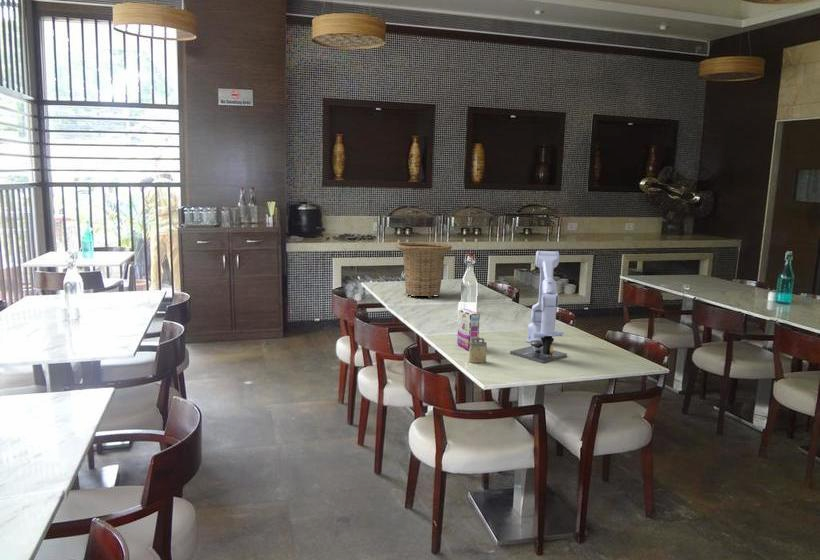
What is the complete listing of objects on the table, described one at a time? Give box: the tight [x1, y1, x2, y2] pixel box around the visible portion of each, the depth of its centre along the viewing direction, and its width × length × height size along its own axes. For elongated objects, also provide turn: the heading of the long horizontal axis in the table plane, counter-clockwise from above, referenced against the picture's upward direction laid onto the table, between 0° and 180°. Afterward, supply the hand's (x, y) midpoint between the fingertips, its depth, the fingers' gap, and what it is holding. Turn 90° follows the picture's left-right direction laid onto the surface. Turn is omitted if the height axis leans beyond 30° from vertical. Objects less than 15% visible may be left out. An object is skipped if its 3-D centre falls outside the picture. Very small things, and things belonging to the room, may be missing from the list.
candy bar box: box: [456, 308, 481, 352], centre depth 272 cm, size 11×5×16 cm, turn 23°
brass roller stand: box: [530, 340, 554, 355], centre depth 263 cm, size 12×6×4 cm, turn 33°
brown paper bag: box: [468, 337, 488, 364], centre depth 251 cm, size 7×4×10 cm, turn 98°
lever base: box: [509, 345, 568, 364], centre depth 264 cm, size 17×17×4 cm
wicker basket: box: [396, 241, 453, 297], centre depth 394 cm, size 35×35×33 cm
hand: (546, 353), depth 259 cm, fingers closed, pressing on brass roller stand
